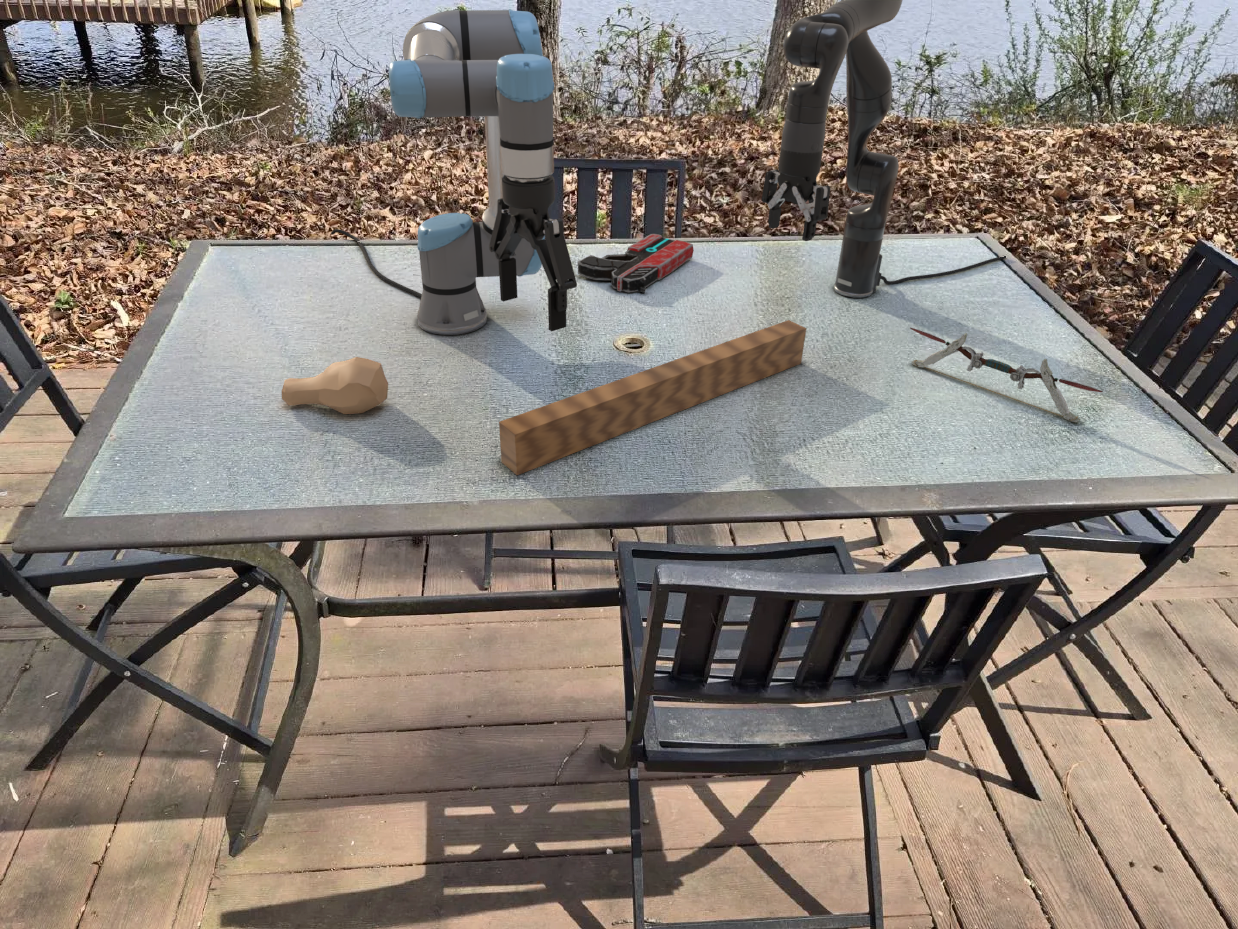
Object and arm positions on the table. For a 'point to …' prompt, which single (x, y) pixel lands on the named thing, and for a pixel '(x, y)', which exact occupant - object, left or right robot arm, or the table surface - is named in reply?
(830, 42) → the right robot arm
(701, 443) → the table surface
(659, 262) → the gun
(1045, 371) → the bow
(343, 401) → the squash
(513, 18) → the left robot arm
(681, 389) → the post
